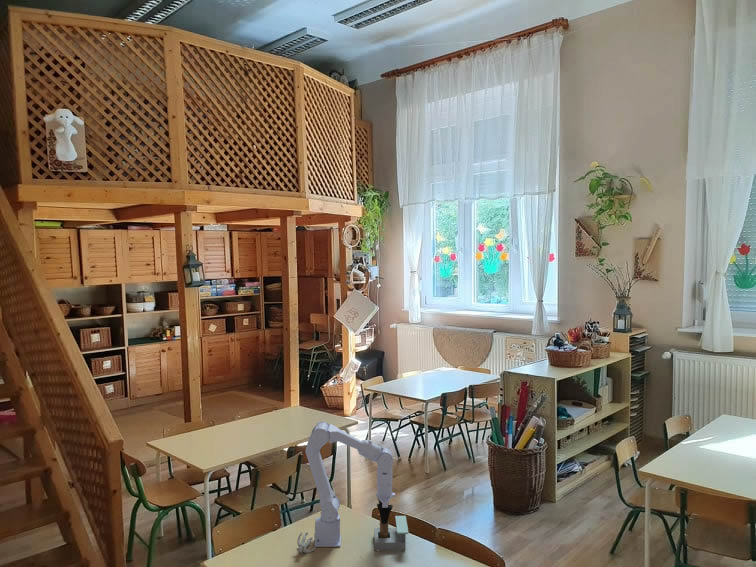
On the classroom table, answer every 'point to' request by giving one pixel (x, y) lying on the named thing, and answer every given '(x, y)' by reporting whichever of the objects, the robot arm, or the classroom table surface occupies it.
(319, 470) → the robot arm
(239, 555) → the classroom table surface
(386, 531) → the peg
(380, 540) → the socket block
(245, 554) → the classroom table surface
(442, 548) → the classroom table surface
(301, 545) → the grey branched piece
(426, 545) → the classroom table surface
